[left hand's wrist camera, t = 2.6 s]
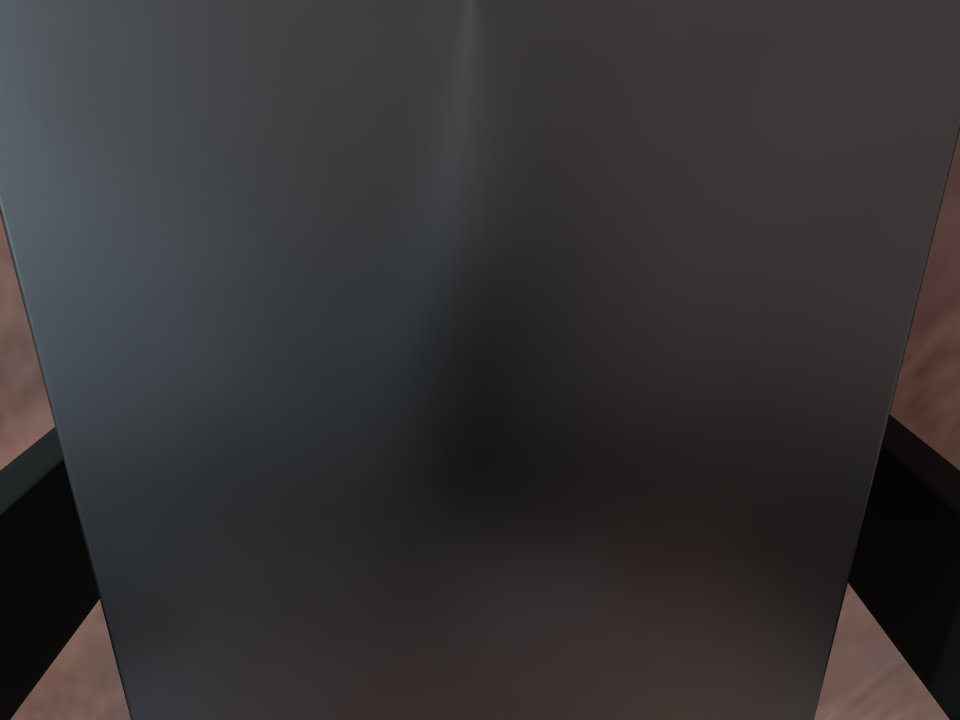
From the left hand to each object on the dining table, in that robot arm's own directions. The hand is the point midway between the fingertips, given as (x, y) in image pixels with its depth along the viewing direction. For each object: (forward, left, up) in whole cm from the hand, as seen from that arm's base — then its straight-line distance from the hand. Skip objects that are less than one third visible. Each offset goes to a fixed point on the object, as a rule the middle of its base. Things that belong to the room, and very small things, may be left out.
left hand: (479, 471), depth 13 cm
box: (+5, +5, -6) cm, 10 cm away
